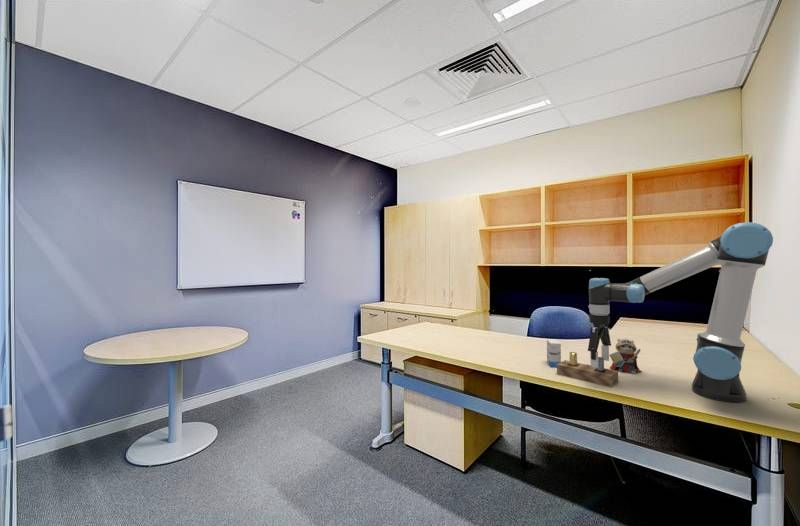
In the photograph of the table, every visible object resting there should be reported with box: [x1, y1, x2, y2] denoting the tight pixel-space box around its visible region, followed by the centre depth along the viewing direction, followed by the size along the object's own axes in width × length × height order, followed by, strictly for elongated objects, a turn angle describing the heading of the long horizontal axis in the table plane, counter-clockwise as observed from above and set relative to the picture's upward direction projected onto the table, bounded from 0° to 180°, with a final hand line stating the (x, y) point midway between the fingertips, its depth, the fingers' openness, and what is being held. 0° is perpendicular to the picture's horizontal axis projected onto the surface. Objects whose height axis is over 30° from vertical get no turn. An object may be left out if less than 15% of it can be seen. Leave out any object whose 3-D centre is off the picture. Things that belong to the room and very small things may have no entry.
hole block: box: [556, 360, 619, 388], centre depth 148 cm, size 22×9×4 cm, turn 41°
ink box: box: [546, 339, 562, 368], centre depth 167 cm, size 8×5×12 cm, turn 168°
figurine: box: [609, 338, 642, 374], centre depth 155 cm, size 13×11×15 cm
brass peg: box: [569, 351, 578, 367], centre depth 152 cm, size 3×3×10 cm
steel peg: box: [596, 356, 605, 373], centre depth 144 cm, size 3×3×10 cm
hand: (600, 363), depth 144 cm, fingers open, 12 cm apart
